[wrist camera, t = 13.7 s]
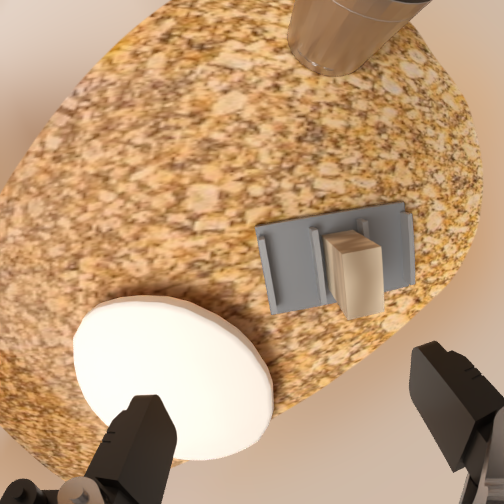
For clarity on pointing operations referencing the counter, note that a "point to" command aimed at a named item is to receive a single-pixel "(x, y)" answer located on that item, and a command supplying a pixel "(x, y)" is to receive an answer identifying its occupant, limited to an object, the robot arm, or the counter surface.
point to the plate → (176, 371)
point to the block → (354, 273)
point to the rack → (312, 253)
